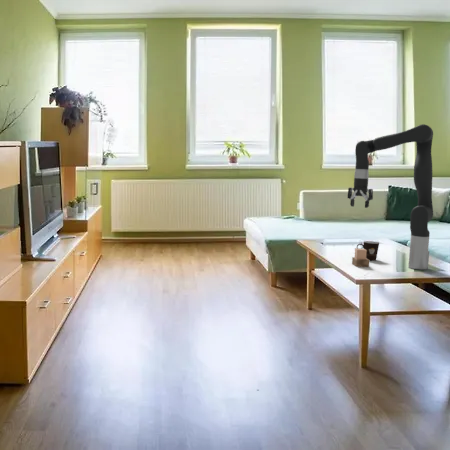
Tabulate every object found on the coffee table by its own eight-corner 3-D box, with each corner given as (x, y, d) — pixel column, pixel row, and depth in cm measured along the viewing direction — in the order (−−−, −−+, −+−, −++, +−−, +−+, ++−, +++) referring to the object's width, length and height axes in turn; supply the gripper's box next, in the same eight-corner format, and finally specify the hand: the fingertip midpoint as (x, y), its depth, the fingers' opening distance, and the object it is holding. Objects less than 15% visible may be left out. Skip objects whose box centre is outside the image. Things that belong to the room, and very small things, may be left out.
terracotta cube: (363, 257, 298) (364, 248, 297) (366, 259, 293) (366, 250, 292) (354, 257, 298) (355, 248, 297) (356, 259, 293) (357, 249, 292)
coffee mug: (379, 259, 317) (381, 242, 316) (375, 261, 310) (376, 243, 309) (359, 257, 323) (360, 240, 322) (355, 259, 316) (356, 241, 314)
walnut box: (364, 264, 299) (365, 257, 299) (369, 267, 292) (369, 260, 292) (352, 264, 299) (352, 257, 298) (356, 267, 292) (356, 259, 291)
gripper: (376, 178, 303) (374, 208, 304) (353, 177, 312) (351, 205, 314) (369, 178, 297) (367, 208, 299) (346, 177, 307) (344, 206, 308)
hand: (359, 207), depth 306 cm, fingers open, 8 cm apart
